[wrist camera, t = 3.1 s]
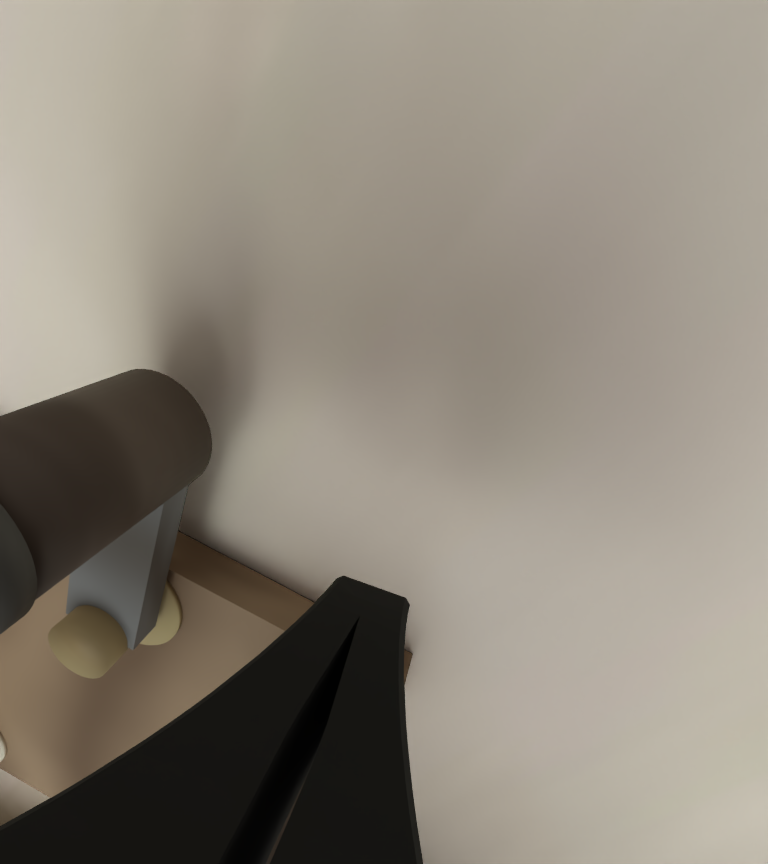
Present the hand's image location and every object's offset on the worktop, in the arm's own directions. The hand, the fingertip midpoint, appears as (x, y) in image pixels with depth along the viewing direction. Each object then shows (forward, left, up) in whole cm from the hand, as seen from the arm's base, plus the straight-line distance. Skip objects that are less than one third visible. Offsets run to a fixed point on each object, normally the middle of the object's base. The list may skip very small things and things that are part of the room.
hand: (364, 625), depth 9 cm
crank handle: (+7, +4, -3) cm, 8 cm away
